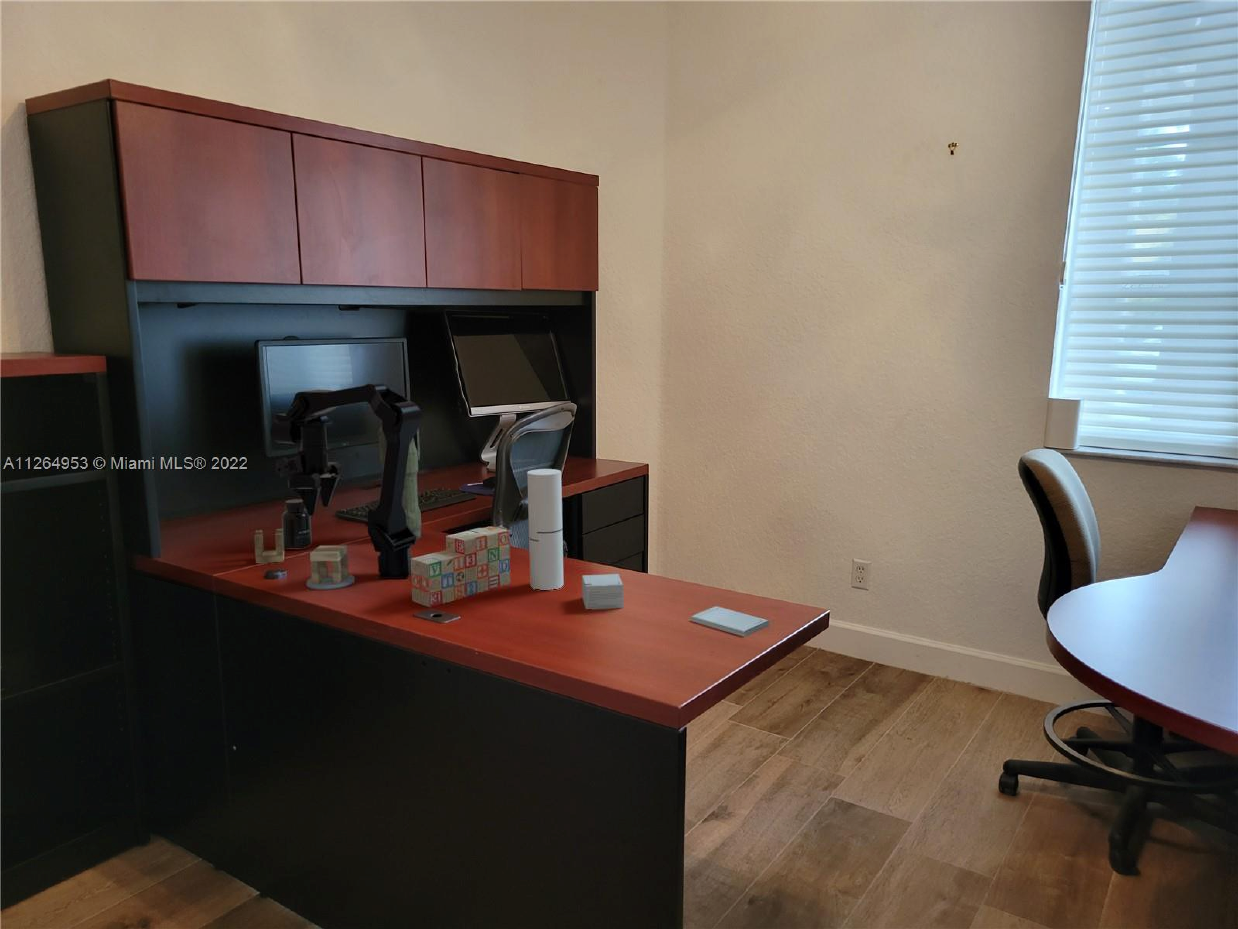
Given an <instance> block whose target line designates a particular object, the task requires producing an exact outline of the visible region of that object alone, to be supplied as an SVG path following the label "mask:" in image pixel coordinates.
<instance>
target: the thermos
mask: <svg viewBox="0 0 1238 929" xmlns="http://www.w3.org/2000/svg"><path fill="white" fill-rule="evenodd" d="M377 434H378V435H377V440H378V454H379V456H378V457H379V464H380V465H382V469H383V468H384V460H385V452H386V445H387V440H386V438H385V436H384V433H383V431H382V425H380V426H379V428H378V431H377ZM420 442H421V441H420V427H419V428H418V431H417V433H416V434H415V436H414V437H413V439H412V441H411V442H410V445H409V452H408V460H407V467H406V475H405V482H404V490H403V497H402V506H403V508H404V511H405V513H406V524H407V525H408V527H409V528H410V529H411V530H412V531H413V533H414V534H415V535H416V536H417V538H416V540H418V539H420V538H422V533H421V532H422V530H421V528H422V514H421V509H420V507H419V497H418V495H419V494H418V493H419V492H418V476H417V475H418V472H419V461H420V459H421V448H420V447H421V445H420ZM392 541H393V542H394V541H396V539H394V540H392Z"/></svg>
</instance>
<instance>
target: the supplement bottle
mask: <svg viewBox="0 0 1238 929" xmlns="http://www.w3.org/2000/svg"><path fill="white" fill-rule="evenodd" d="M284 505H285V506H284V509H285V510H286V511H284V512H283V513H282V515H281V526H282V528H281V529H283V542H284V547H285V548H304V547H307V546H309V545H310V544H313V540H312V539H313V538H312V524H311V523H312V521H311V519H312V518H311V516H309V515H308V513H307V510H306V508H305V505H304V503H303V500H302V498H301V499H300V498H299V499H295V498H294V499H289V500H285V502H284ZM285 548H284V549H285Z"/></svg>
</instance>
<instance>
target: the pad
mask: <svg viewBox="0 0 1238 929" xmlns="http://www.w3.org/2000/svg"><path fill="white" fill-rule="evenodd" d="M354 582H355V576H353V575H352V574H349V576H348V577H347V578H342V583H340V584H333V573H328V577H327V578H321V583H320V584H312V577H310V578H309V579H307V581H306V586H307V588H309V589H311V590H312V589H313V590H319V591H321V590H323V591H325V590H326V591H328V590H335V589H341V588H345V587H348V586H350V585H353V584H354Z"/></svg>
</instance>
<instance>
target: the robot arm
mask: <svg viewBox="0 0 1238 929" xmlns="http://www.w3.org/2000/svg"><path fill="white" fill-rule="evenodd" d="M362 403H368V404H369V405H370V407H371V410H372V412H373V414H374V415H375V416H377V417H378V419H379V420H381V426H382V431H383V433H384V436H385V438H386V440H387V445H386V452H385V460H384V468H383V467H382V477H381V486H380V491H379V492H380V494H379V501H378V504H377V505H376V506H374V507H370V508H368V510H367V522H366V524H365V528H366V527H367V534H368V535H367V536H369V538H370V541H371V543H372V544H371V545H372V547H373V550H374V551H375V552H376V553H379V555H378V556H377V566H378V579H408V578H409V577H411V558H412V546H414V545H415V544H416V542H417V539H416V538H417V536H416V535H415V534H414V533H413V531H412V530H411V529H410V528H409V527H408V525H407V524H406V513H405V511H404V508H403V506H402V497H403V490H404V482H405V475H406V467H407V460H408V452H409V445H410V442H411V441H412V439H413V437H414V436H415V434H416V433H417V431H418V428H419V429H420V424H421V420H422V416H423V415H422V410H421V409H420V408H419V406H418V405H417V404H416V403H415V402H413V401H410V400H409V399H408V398H407V397H406V396H404V395H401V393H398V392H397V391H395V390H392V389H391V388H390V387H388V386H387V385H386V384H385V383H382V382H371V383H367V384H364V385H360V386H355V387H349V388H343V389H342V388H341V389H337V390H330V389H313V390H305V391H298V392H296V393H295V394H294V397H293V401H292V403H291V405H290V406H289V408H288V411H287V412H286V413H278V414H275V420H274V421H273V422H272V424H271V427H270V430H269V432H270V433H269V434H270V438H271V440H273V441H274V442H276V443H279V444H280V443H281V444H293V445H294V444H295V445H298V444H300V449H299V450H298V451H297V452H296V457H294V458H291V459H287V458H286V457H283V458H280V459H277V460H275V465H274V466H275V470H274V471H275V472H276V473H278V474H279V475H280V478H285V477H287V476H288V475H290V476H289V477H288V479H287V488H289V489H290V490H291V491H293V492H296V493H297V494H299V496H300V498H301V499H302V500H303V503H304V505H305V510H307V513H308V515H309V516H310V517H312V516H314V514H315V511H316V509H317V504H318V500H319V497H320V500H321V505H322V507H323V508H327V507H329V505H330V503H331V499H332V497H333V495H334V491H335V488H337V485H338V482H339V480H340V479H341V475H342V474H343V466H342V464H340V463H339V461H329V453H331V447H328V442H327V441H328V440H327V427H329V426H330V427H331V426H332V425H334V422H333V420H331V419H330V418H328V416H327V415H324V414H326V413H328V412H332V411H333V410H335V409H336V408H338V407H342V406H343V407H344V406H350V405H356V404H362ZM317 416H318V417H317ZM316 417H317V418H316ZM293 473H294V474H293ZM394 539H396V541H392V540H394Z"/></svg>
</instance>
